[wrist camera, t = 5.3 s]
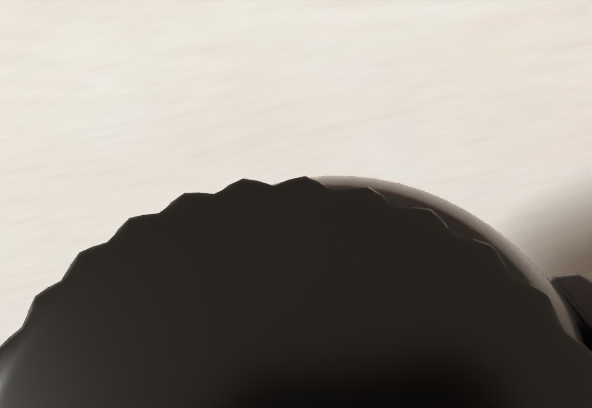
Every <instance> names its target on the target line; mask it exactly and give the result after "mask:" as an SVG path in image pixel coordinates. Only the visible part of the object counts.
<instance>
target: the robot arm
mask: <svg viewBox="0 0 592 408" xmlns="http://www.w3.org/2000/svg"><path fill="white" fill-rule="evenodd" d="M549 282H550V283H551V284H552V286H553V287H554V289H555V290H556V291H557V293H558V294H559V295H560V297H561V298H562V299H563V301H564V302H565V304H566V305H567V307H568V308H569V310H570V312H571V313H572V315H573V317H574V318H575V320H576V322H577V323H578V325H579V327H580V328H581V330H582V332H583V334H584V336H585V338H586V341H587V343H588V345H589V347H590V349H591V351H592V281H590V280H589V279H587V278H585V277H584V276H582V275H580V274H576V273H572V274H564V275H556V276H552V277H551V278H550V279H549Z"/></svg>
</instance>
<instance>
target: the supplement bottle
mask: <svg viewBox="0 0 592 408" xmlns="http://www.w3.org/2000/svg"><path fill="white" fill-rule="evenodd" d="M0 408H592V351H591V349H590V347H589V345H588V343H587V341H586V338H585V336H584V334H583V332H582V330H581V328H580V327H579V325H578V323H577V322H576V320H575V318H574V317H573V315H572V313H571V312H570V310H569V308H568V307H567V305H566V304H565V302H564V301H563V299H562V298H561V297H560V295H559V294H558V293H557V291H556V290H555V289H554V287H553V286H552V284H551V283H550V282H549V281H548V279H547V278H546V277H545V276H544V275H543V274H542V273H541V272H540V270H539V269H538V268H537V267H536V266H535V265H534V264H533V262H532V261H531V260H530V259H529V258H527V257H526V256H525V255H524V254H523V253H522V252H521V251H520V250H519V249H518V248H517V247H516V246H515V245H514V244H513V243H512V242H510V241H509V240H508V239H506V238H505V237H504V236H503V235H501V234H500V233H499V232H498V231H496V230H495V229H494V228H492V227H491V226H490V225H488V224H487V223H485V222H483V221H482V220H480V219H479V218H477V217H476V216H474V215H473V214H471V213H469V212H468V211H466V210H464V209H462V208H460V207H458V206H456V205H454V204H452V203H450V202H449V201H447V200H444V199H442V198H440V197H437V196H435V195H432V194H430V193H427V192H425V191H422V190H419V189H416V188H412V187H409V186H406V185H402V184H399V183H394V182H389V181H384V180H379V179H373V178H364V177H354V176H321V177H310V178H309V177H307V176H303V177H299V178H295V179H290V180H287V181H284V182H280V183H277V184H273V185H269V184H266V183H263V182H260V181H256V180H250V179H244V178H243V179H241V180H239V181H237V182H235V183H232V184H230V185H228V186H227V187H226V188H224V189H223V190H222V191H220V192H217V193H215V194H208V193H184V194H183V195H181V196H180V197H178V198H177V199H175V200H174V201H173V202H171V203H170V204H169V205H168V207H167V208H165V209H164V210H163V211H161V212H160V213H157V214H148V215H141V216H136V217H132V218H129V219H128V220H127V221H126V222H125V223H124V224H123V225H122V226H121V227H120V228H119V229H118V230H117V232H116V234H115V235H114V236H113V237H112V238H111V239H110V240H109V241H108V242H107V243H103V244H100V245H97V246H94V247H91V248H89V249H87V250H84V251H82V252H80V253H79V254H78V255H77V257H76V258H75V260H74V261H73V262H72V264H71V265H70V267H69V269H68V270H67V272H66V273H65V275H64V277H63V278H62V280H61V281H59V282H58V283H56V284H54V285H52V286H50V287H48V288H47V289H45V290H44V291H42V292H41V293H39V294H38V295H36V296H35V298H34V300H33V302H32V304H31V306H30V308H29V311H28V314H27V317H26V319H25V321H24V324H23V326H22V327H21V328H20V329H19V330H18V331H17V332H15V333H14V334H13V335H12V336H10V337H9V338H8V339H7V340H6V341H5V342H4V343H3V344H2V345H1V346H0Z"/></svg>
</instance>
